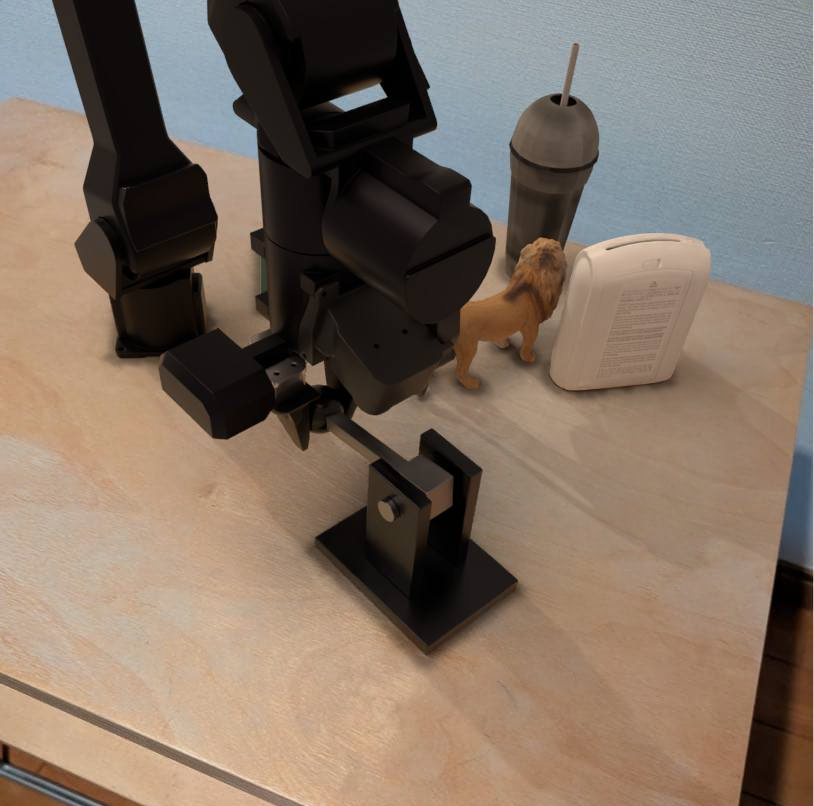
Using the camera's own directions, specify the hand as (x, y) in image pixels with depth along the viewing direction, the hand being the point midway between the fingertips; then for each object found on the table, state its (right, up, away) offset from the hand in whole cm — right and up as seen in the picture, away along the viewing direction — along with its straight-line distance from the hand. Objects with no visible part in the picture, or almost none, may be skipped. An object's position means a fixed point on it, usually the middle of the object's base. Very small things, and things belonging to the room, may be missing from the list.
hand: (320, 435), depth 61 cm
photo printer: (+22, +6, +13) cm, 27 cm away
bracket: (+6, -9, -1) cm, 11 cm away
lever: (+3, -2, -3) cm, 5 cm away
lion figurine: (+12, +8, +13) cm, 20 cm away
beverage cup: (+17, +17, +22) cm, 32 cm away
